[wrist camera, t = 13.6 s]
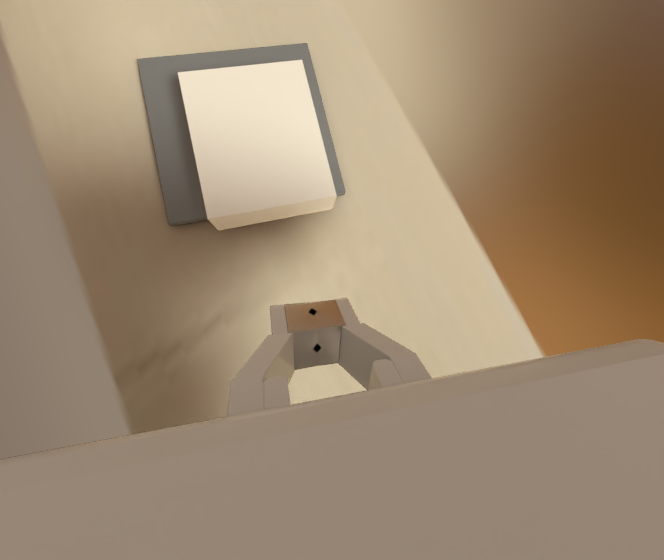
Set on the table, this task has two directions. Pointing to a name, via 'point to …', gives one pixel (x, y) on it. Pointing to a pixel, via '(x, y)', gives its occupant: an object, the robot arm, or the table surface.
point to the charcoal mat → (174, 130)
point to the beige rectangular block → (256, 143)
